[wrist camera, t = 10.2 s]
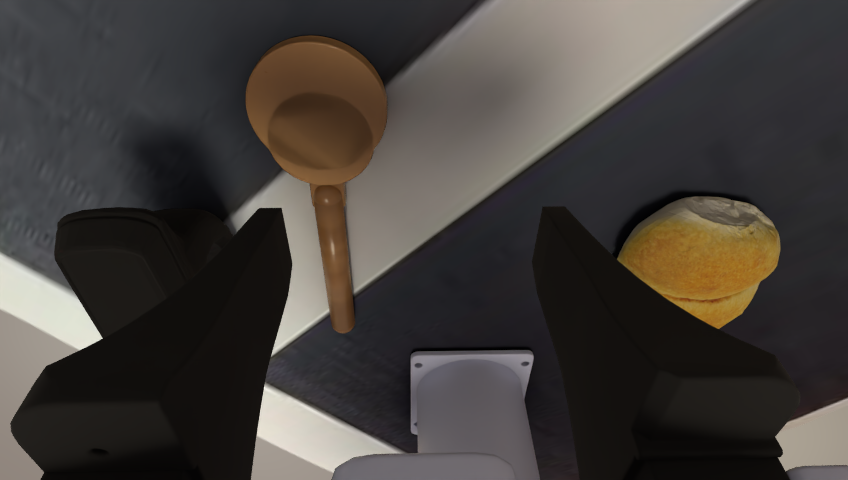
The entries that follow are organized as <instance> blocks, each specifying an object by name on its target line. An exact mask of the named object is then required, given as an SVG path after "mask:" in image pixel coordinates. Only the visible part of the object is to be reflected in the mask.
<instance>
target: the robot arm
mask: <svg viewBox="0 0 848 480" xmlns="http://www.w3.org/2000/svg"><path fill="white" fill-rule="evenodd" d="M532 265H533V271H534V277H535V283H536V289H537V294H538V297H539V300H540V303H541V307H542V310H543V313H544V316H545V320H546V323H547V326H548V329H549V332H550V335H551V338H552V342H553V345H554V348H555V351H556V354H557V357H558V361H559V365H560V369H561V373H562V378H563V383H564V388H565V393H566V398H567V403H568V409H569V415H570V420H571V426H572V432H573V438H574V444H575V451H576V457H577V464H578V470H579V478H580V480H848V466H847V465H833V466H832V465H830V466H829V465H828V466H801V467H795V468H792V469H790V470H788V471H786V472H785V470H784V468H783V466H782V464H781V463H780V461H779V459H778V457H781V456H782V454H783V452H782V451H783V450H782V448H781V447H780V445H779V443H778V441H777V440H776V438H775V436H776V435H777V434H778V433H779V431H780V430H781V429H782V428H783V427H784V425H785V424H786V423H787V422H788V421H789V419H790V418H791V417H792V416H793V414H794V413H795V411H796V409H797V408H798V406H799V404H800V393H799V391H798V389H797V387H796V385H795V384H794V382H793V381H792V379H791V378H790V376H789V375H788V373H787V372H786V370H785V369H784V367H783V366H782V364H781V363H780V361H779V360H778V359H777V358H776V356H775V355H773V354H771V353H769V352H766V351H764V350H762V349H760V348H757V347H755V346H753V345H751V344H748V343H746V342H744V341H741V340H739V339H737V338H735V337H733V336H731V335H729V334H727V333H725V332H723V331H721V330H719V329H717V328H715V327H713V326H711V325H709V324H708V323H706V322H704V321H702V320H700V319H699V318H697V317H695V316H693V315H692V314H690V313H689V312H687V311H685V310H684V309H682V308H681V307H679V306H677V305H676V304H674V303H673V302H671V301H670V300H668V299H667V298H665V297H664V296H662V295H661V294H659V293H658V292H657V291H655V290H654V289H653V288H651V287H650V286H648V285H647V284H646V283H644V282H643V281H642V280H641V279H639V278H638V277H637V276H636V275H634V274H633V273H632V272H631V271H630V270H628V269H627V268H626V267H625V266H624V265H623V264H622V263H620V262H619V261H618V260H617V259H616V258H615V257H614V256H613V255H612V254H610V253H609V252H608V251H607V250H606V249H605V248H604V247H603V246H602V245H601V244H600V243H599V242H598V241H597V240H596V239H595V238H594V237H593V236H592V235H591V234H590V233H589V232H588V231H587V230H586V229H585V227H584V226H583V225H582V224H581V223H580V222H579V221H578V220H577V219H576V218H575V217H574V216H573V215H572V214H571V213H570V212H569V211H568V210H567V208H566V207H543V208H542V213H541V218H540V223H539V229H538V234H537V239H536V244H535V249H534V254H533V259H532ZM291 270H292V259H291V254H290V249H289V244H288V239H287V234H286V228H285V223H284V218H283V213H282V208H259V209H258V210H257V211H256V212H255V213H254V214H253V215H252V216H251V217H250V218H249V220H248V221H247V222H246V223H245V224H244V225H243V226H242V227H241V229H240V230H239V231H238V232H237V233H236V234H235V235H234V236H233V237H232V239H231V240H230V241H229V242H228V243H227V244H226V245H225V246H224V247H223V248H222V249H221V250H220V251H219V252H218V253H217V254H216V255H215V256H214V257H213V258H212V259H211V260H210V261H209V262H208V263H207V264H206V265H205V266H204V267H203V268H202V269H201V270H200V271H199V272H198V273H197V274H195V275H194V276H193V277H192V278H191V279H190V280H189V281H188V282H186V283H185V284H184V285H183V286H182V287H180V288H179V289H178V290H176V291H175V292H174V293H173V294H171V295H170V296H169V297H167V298H166V299H165V300H163V301H162V302H161V303H159V304H158V305H156V306H155V307H153V308H152V309H150V310H149V311H147V312H146V313H144V314H143V315H141V316H140V317H138V318H137V319H135V320H134V321H132V322H131V323H129V324H127V325H126V326H124V327H122V328H121V329H119V330H117V331H116V332H114V333H112V334H110V335H108V336H107V337H105V338H103V339H101V340H99V341H98V342H96V343H94V344H92V345H90V346H88V347H86V348H84V349H82V350H80V351H78V352H75V353H73V354H71V355H69V356H67V357H65V358H63V359H61V360H59V361H57V362H54V363H52V364H50V365H48V366H46V367H45V369H44V370H43V371H42V373H41V374H40V376H39V377H38V379H37V380H36V382H35V383H34V385H33V386H32V388H31V390H30V391H29V393H28V394H27V396H26V398H25V399H24V401H23V403H22V404H21V406H20V408H19V409H18V411H17V412H16V414H15V416H14V417H13V419H12V421H11V423H10V424H11V432H12V434H13V436H14V438H15V439H16V440H17V442H18V444H19V445H20V446H21V447H22V448H23V449H24V450H25V452H26V453H27V454H28V455H29V456H30V457H31V458H32V459H33V460H34V461H35V462H36V464H37V465H38V466H39V467H40V468H41V469H42V470H43V471H44V474H43V476H42V478H41V480H251V473H252V465H253V457H254V450H255V441H256V435H257V428H258V421H259V415H260V408H261V402H262V396H263V390H264V384H265V378H266V373H267V369H268V365H269V361H270V357H271V354H272V350H273V347H274V343H275V340H276V336H277V333H278V329H279V326H280V322H281V319H282V315H283V312H284V308H285V304H286V301H287V297H288V292H289V285H290V278H291ZM533 360H534V356H533V353H532V351H530V350H481V351H417V352H414V353H412V354H411V432H412V433H413V434H416V435H418V453H408V454H372V455H366V456H359V457H354V458H352V459H350V460H348V461H346V462H345V463H343V464H341V465H339V466H338V467H337V468H335V471H334V474H333V477H332V479H331V480H540V477H539V472H538V467H537V462H536V457H535V452H534V447H533V442H532V437H531V432H530V427H529V422H528V417H527V412H526V407H525V402H524V398H525V393H526V389H527V385H528V381H529V376H530V372H531V368H532V364H533Z"/></svg>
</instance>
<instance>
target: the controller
mask: <svg viewBox="0 0 848 480" xmlns="http://www.w3.org/2000/svg"><path fill="white" fill-rule="evenodd" d="M232 237H233V235H232V234H231V232H230V230H229V229H228V227H227V226H226V225H225V224H224V223H223V222H222V221H221V220H220V219H219V218H218V217H216V216H215V215H213V214H212V213H209V212H207V211H204V210H200V209H192V208H187V209H164V210H158V211H150V210H148V209H141V208H123V207H116V208H101V209H90V210H82V211H78V212H75V213H71V214H68V215H66V216H64V217H63V218H62V219H61V220H60V221H59V222H58V230H57V233H56V241H55V251H54V254H55V260H56V262H57V264H58V266H59V267H60V269H61V271H62V272H63V274H64V276H65V278H66V279H67V281H68V283H69V284H70V286H71V287H72V289H73V291H74V292H75V294H76V295H77V297H78V299H79V300H80V302H81V304H82V305H83V307H84V308H85V310H86V312H87V313H88V315H89V317H90V318H91V320H92V321H93V323H94V325H95V326H96V328H97V330H98V331H99V333H100V334H101V336H102V338H105V337H107V336H108V335H110V334H112V333H114V332H116V331H117V330H119V329H121V328H122V327H124V326H126V325H127V324H129V323H131V322H132V321H134V320H135V319H137V318H138V317H140V316H141V315H143V314H144V313H146V312H147V311H149V310H150V309H152V308H153V307H155V306H156V305H158V304H159V303H161V302H162V301H163V300H165V299H166V298H167V297H169V296H170V295H171V294H173V293H174V292H175V291H176V290H178V289H179V288H180V287H182V286H183V285H184V284H185V283H186V282H188V281H189V280H190V279H191V278H192V277H193V276H194V275H195V274H197V273H198V272H199V271H200V270H201V269H202V268H203V267H204V266H205V265H206V264H207V263H208V262H209V261H210V260H211V259H212V258H213V257H214V256H215V255H216V254H217V253H218V252H219V251H220V250H221V249H222V248H223V247H224V246H225V245H226V244H227V243H228V242H229V241H230V240H231V239H232Z"/></svg>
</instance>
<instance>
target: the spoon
mask: <svg viewBox="0 0 848 480" xmlns="http://www.w3.org/2000/svg"><path fill="white" fill-rule="evenodd" d="M387 106H388V105H387V96H386V92H385V88H384V85H383V83H382V80H381V78H380V76H379V75H378V73H377V71H376V70H375V68H374V67H373V66H372V64H371V63H370V62H369V61H368V60H367V59H366V58H365V57H364V56H363V55H362V54H360V53H359V52H358V51H357V50H355V49H353V48H352V47H350V46H349V45H347V44H345V43H342V42H340V41H338V40H335V39H332V38H327V37H322V36H312V35H309V36H299V37H294V38H290V39H287V40H284V41H282V42H280V43H278V44H276V45H275V46H273V47H272V48H270V49H269V50H268V51H267V52H266V53H265V54H264V55H263V56H262V57H261V58H260V60H259V61H258V62H257V64H256V66H255V67H254V69H253V71H252V73H251V75H250V77H249V80H248V84H247V88H246V109H247V114H248V117H249V120H250V123H251V125H252V127H253V129H254V131H255V133H256V134H257V136H258V137H259V139H260V140H261V141H262V142H263V144H264V145H265V146H266V147H267V148H268V149H269V150H270V152H271V154H272V156H273V157H274V159H275V160H276V162H277V163H278V164H279V165H280V166H281V167H282V168H283V169H284V170H285V171H286V172H288V173H289V174H290V175H292V176H294V177H295V178H297V179H299V180H302V181H304V182H307V183H310V190H311V197H312V203H313V206H314V207H315V214H316V221H317V228H318V235H319V242H320V248H321V255H322V262H323V269H324V276H325V283H326V290H327V297H328V304H329V310H330V317H331V324H332V327H333V328H334V330H335V331H337V332H339V333H347V332H349V331H351V330H352V328H353V327H354V325H355V314H354V305H353V295H352V285H351V275H350V265H349V255H348V246H347V236H346V226H345V216H344V206H345V205H346V189H345V182H347V181H349V180H351V179H353V178H355V177H356V176H357V175H359V174H360V173H361V172H362V171H363V170H364V169H365V168H366V167H367V165H368V164H369V162H370V160H371V158H372V155H373V152H374V149H375V147H376V146H377V145H378V143H379V142H380V140H381V138H382V136H383V133H384V130H385V127H386V122H387Z"/></svg>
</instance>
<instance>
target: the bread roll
mask: <svg viewBox="0 0 848 480" xmlns="http://www.w3.org/2000/svg"><path fill="white" fill-rule="evenodd" d="M779 253H780V238H779V234H778V232H777V230H776V229H775V226H774V224H773V223H772V221H771V220H770V219H769V218H767V217H766V216H765V215H764V214H763V213H762V212H761V211H760V210H759V209H758V208H757V207H756V206H753V205H751V204H750V203H745V202H740V201H734V200H730V199H726V198H722V197H709V196H707V197H697V196H696V197H686V198H682V199H679V200H677V201H674V202H672V203H670V204H668V205H666V206H664V207H663V208H661V209H660V210H658V211H657V212H655V213H653V214H652V215H651V216H649V217H648V218H646V219H645V220H643V221H642V222H641V223H639V224H638V225H637V226H636V227H635V228H634V229H633V231H632V232H631V234H630V235H629V237H628V238H627V240H626V242H625V243H624V245H623V247H622V249H621V251H620V253H619V256H618V258H617V260H618V261H619V262H620V263H622V264H623V265H624V266H625V267H626V268H627V269H628V270H630V271H631V272H632V273H633V274H634V275H636V276H637V277H638V278H639V279H641V280H642V281H643V282H644V283H646V284H647V285H648V286H650V287H651V288H653V289H654V290H655V291H657V292H658V293H659V294H661V295H662V296H664V297H665V298H667V299H668V300H670V301H671V302H673V303H674V304H676V305H677V306H679V307H681V308H682V309H684V310H685V311H687V312H689V313H690V314H692V315H693V316H695V317H697V318H699V319H700V320H702V321H704V322H706V323H708V324H709V325H711V326H713V327H715V328H717V329H719V328H721V327H722V326H723V325H725V324H726V323H728V322H730V321H731V320H733V319H734V318H736V317H737V316H739V315H741V314H742V313H743V311H744V310H745V308H746V307H747V306H748V305H749V303H750V301H751V300H752V298H753V296H754V294H755V292H756V290H757V288H758V285H759V283H760V281H762V280H763V279H765V278H766V277H767V276H768V275H769V274H770V273H772V272H773V270H774V269H775V268H776V267H777V263H778V258H779Z"/></svg>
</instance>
